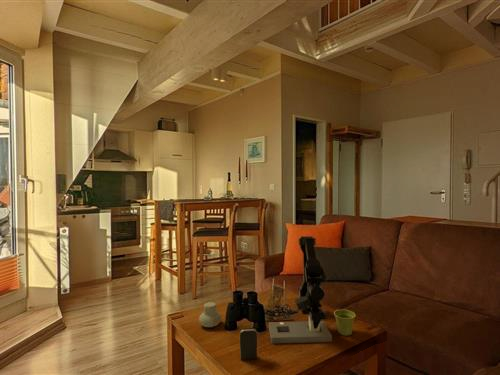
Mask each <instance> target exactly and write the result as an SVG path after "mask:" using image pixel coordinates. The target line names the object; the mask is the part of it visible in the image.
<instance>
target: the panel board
mask: <svg viewBox="0 0 500 375" xmlns="http://www.w3.org/2000/svg"><path fill="white" fill-rule="evenodd" d="M268 330H269V336H270V342H271V344H296V343H297V344H299V343H300V344H301V343H304V344H305V343H307V344H308V343H332V342H333V335H332V334H331V332H330V330H329V328H328V327H327V325H326V323H325V322H324V320H321V321H320V331H316V332H309V320H307V321H302V320H301V321H275V322H274V321H272V322H271V321H270V322H268Z"/></svg>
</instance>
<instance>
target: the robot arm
mask: <svg viewBox="0 0 500 375" xmlns="http://www.w3.org/2000/svg"><path fill="white" fill-rule="evenodd" d="M298 246H299V248H300V250H301V252H302V267H303V270H302V273H303V277H302V278H303V281H302V282H301V284H300V289H299V292H298V298H296V299H294V303H295V306H296V309H297V310H298V311H301V313H302V314H303V315H305V314H306V315H308V316H309V315H310V317H311V319H313V325H314V329H317V327H318V325H319V323H320V321H322V320H327V314H326V312H325V310H324V309H322V307H323V304H322V303H321V301H322V300H323V299H324V297H325V292H324V289H323V287H322V283H325V279H326V276H325V269H324V267H323V266H322V265H321V262H320V260H318V258H317V253H316V249H315V246H317V241H316V238H315V237H313V236H311V235H308V236H305V235H304V236H300V237H299V238H298Z"/></svg>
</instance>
